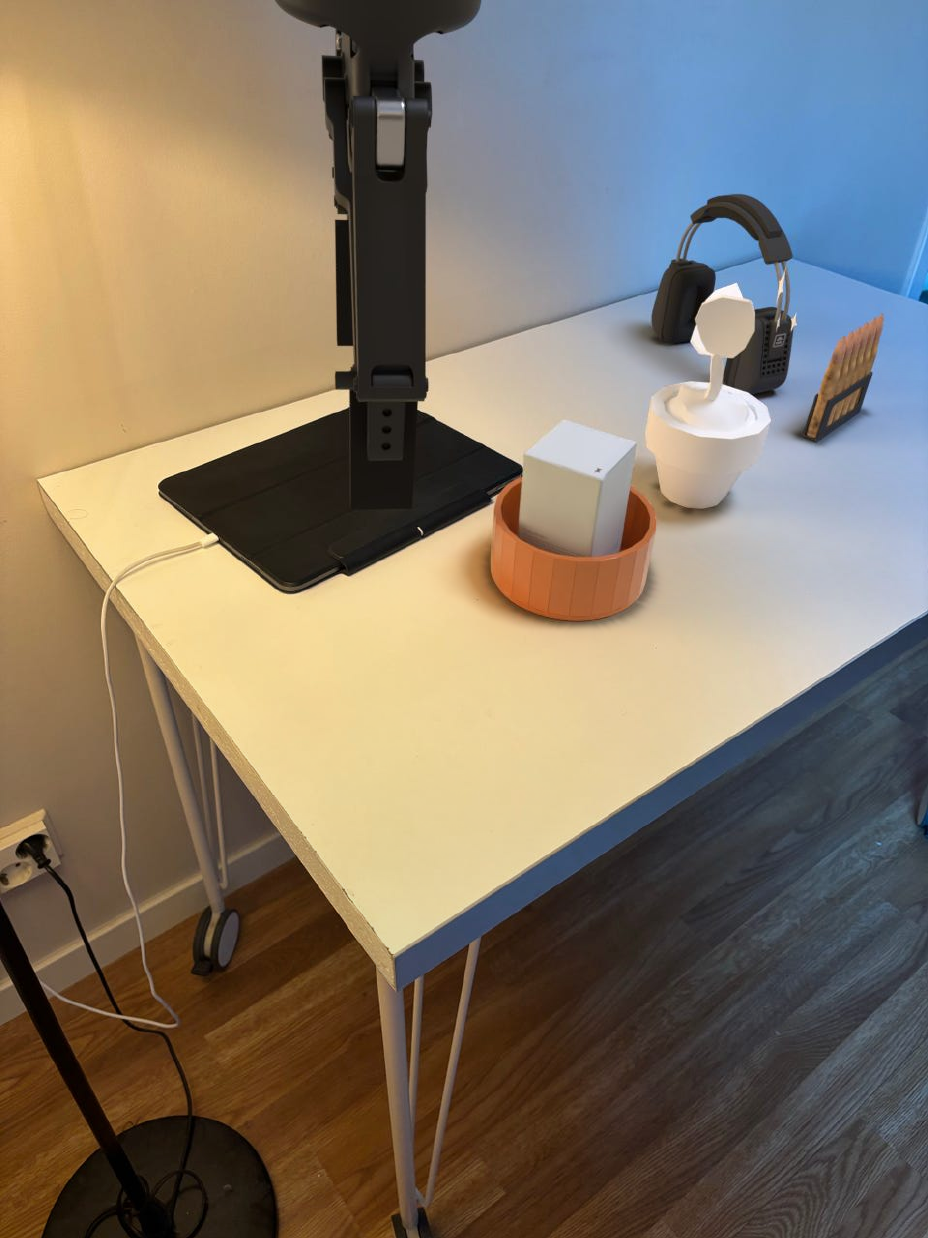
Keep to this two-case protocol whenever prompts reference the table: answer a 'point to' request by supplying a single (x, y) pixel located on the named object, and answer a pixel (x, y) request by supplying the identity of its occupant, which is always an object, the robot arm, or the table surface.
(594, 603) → the orange round bowl
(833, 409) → the ammunition clip
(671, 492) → the potted plant
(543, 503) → the white packaging box
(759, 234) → the headphones
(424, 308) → the robot arm
